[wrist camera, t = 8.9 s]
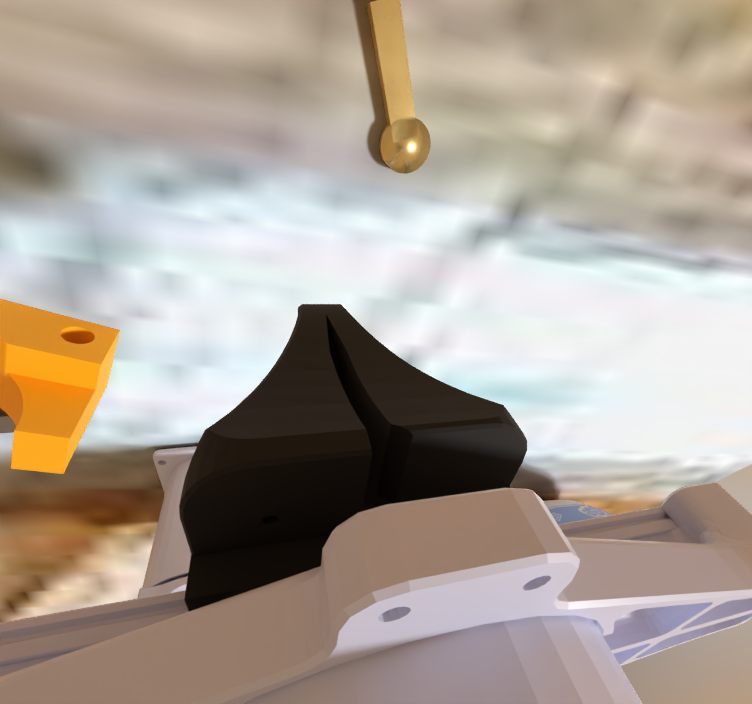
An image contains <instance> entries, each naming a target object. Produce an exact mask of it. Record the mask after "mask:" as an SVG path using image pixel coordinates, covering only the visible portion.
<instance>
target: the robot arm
mask: <svg viewBox="0 0 752 704" xmlns="http://www.w3.org/2000/svg"><path fill="white" fill-rule="evenodd" d="M526 451H527V440H526V438H525V436H524V434H523V432H522V431H521V429H520V428H519V426H518V425H517V423H516V422H515V421H514V419H513V418H512V416H511V415H510V413H509V412H508V411H507V409H506V408H505V407H504V405H501V404H498V403H495V402H492V401H489V400H486V399H483V398H480V397H477V396H474V395H471V394H468V393H466V392H464V391H461V390H459V389H456V388H454V387H452V386H449V385H447V384H445V383H443V382H441V381H439V380H437V379H435V378H433V377H431V376H429V375H427V374H425V373H423V372H422V371H420V370H418V369H416V368H415V367H413V366H411V365H410V364H408V363H407V362H405V361H404V360H402V359H401V358H399V357H398V356H396V355H395V354H394V353H392V352H391V351H390V350H388V349H387V348H386V347H385V346H384V345H382V344H381V343H380V342H379V341H377V340H376V339H375V338H374V337H373V336H372V335H371V334H370V333H368V332H367V331H366V330H365V329H364V328H363V327H362V326H361V325H360V324H359V323H358V322H357V321H356V320H355V319H354V318H353V317H352V316H351V315H350V314H349V312H348V311H347V310H346V309H345V308H344V307H343V306H342V305H341V304H302V305H301V306H299V307H298V317H297V321H296V324H295V327H294V330H293V332H292V335H291V337H290V339H289V341H288V343H287V345H286V347H285V349H284V351H283V352H282V354H281V356H280V358H279V359H278V361H277V362H276V364H275V365H274V367H273V368H272V369H271V371H270V372H269V373H268V375H267V376H266V377H265V378H264V379H263V381H262V382H261V383H260V384H259V385H258V386H257V387H256V389H255V390H254V391H253V392H252V393H251V394H250V395H249V396H247V397H246V398H245V399H244V400H243V401H242V402H241V403H240V404H239V405H238V406H237V407H236V408H235V409H233V410H232V411H231V412H230V413H229V414H227V415H226V416H224V417H223V418H222V419H220V420H219V421H218V422H216V423H215V424H213V425H212V426H210V427H209V428H207V429H206V430H205V431H204V433H203V435H202V437H201V439H200V441H199V443H198V445H197V446H194V447H183V448H172V449H160V450H157V451H155V452H154V454H153V461H154V464H155V467H156V470H157V473H158V476H159V479H160V482H161V485H162V487H163V490H164V493H165V495H164V500H163V504H162V508H161V512H160V516H159V521H158V525H157V529H156V533H155V537H154V542H153V546H152V550H151V554H150V558H149V563H148V567H147V571H146V575H145V579H144V584H143V588H141V589H140V590H139V594H138V598H137V599H133V600H128V601H122V602H116V603H111V604H105V605H99V606H94V607H88V608H82V609H77V610H71V611H65V612H60V613H54V614H48V615H43V616H37V617H31V618H26V619H20V620H14V621H9V622H3V623H0V704H642V702H641V700H640V699H639V697H638V695H637V694H636V692H635V690H634V689H633V687H632V685H631V684H630V682H629V680H628V678H627V677H626V675H625V673H624V671H623V670H622V668H621V666H622V665H625V664H627V663H630V662H633V661H636V660H638V659H641V658H644V657H646V656H649V655H652V654H655V653H658V652H660V651H663V650H666V649H669V648H671V647H674V646H677V645H679V644H682V643H685V642H688V641H691V640H694V639H697V638H700V637H703V636H706V635H709V634H712V633H715V632H719V631H721V630H725V629H728V628H731V627H734V626H738V625H741V624H743V623H744V622H746V621H748V620H750V619H751V618H752V515H751V514H750V513H749V512H748V511H747V510H746V509H745V508H744V507H742V505H740V504H739V503H738V502H737V501H736V500H735V499H734V498H733V497H732V496H731V495H730V494H729V493H727V492H726V491H725V490H724V489H723V488H722V487H721V486H720V485H719V484H718V483H715V482H710V483H703V484H697V485H691V486H686V487H682V488H680V489H678V490H676V491H674V492H673V493H671V494H670V495H669V496H668V497H667V498H666V499H665V500H664V502H663V503H662V505H661V506H660V507H655V508H649V509H643V510H638V511H632V512H626V513H621V514H615V515H609V516H604V517H598V518H592V519H587V520H581V521H575V522H570V523H564V524H557V522H556V521H555V519H554V518H553V516H552V514H551V513H550V511H549V510H548V508H547V506H546V505H545V503H544V502H543V500H542V499H541V498H540V497H539V496H538V495H537V494H536V493H535V492H534V491H533V490H529V489H523V488H510V484H511V482H512V480H513V478H514V476H515V475H516V473H517V471H518V469H519V467H520V465H521V464H522V462H523V459H524V456H525V454H526ZM162 460H163V461H162Z"/></svg>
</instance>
